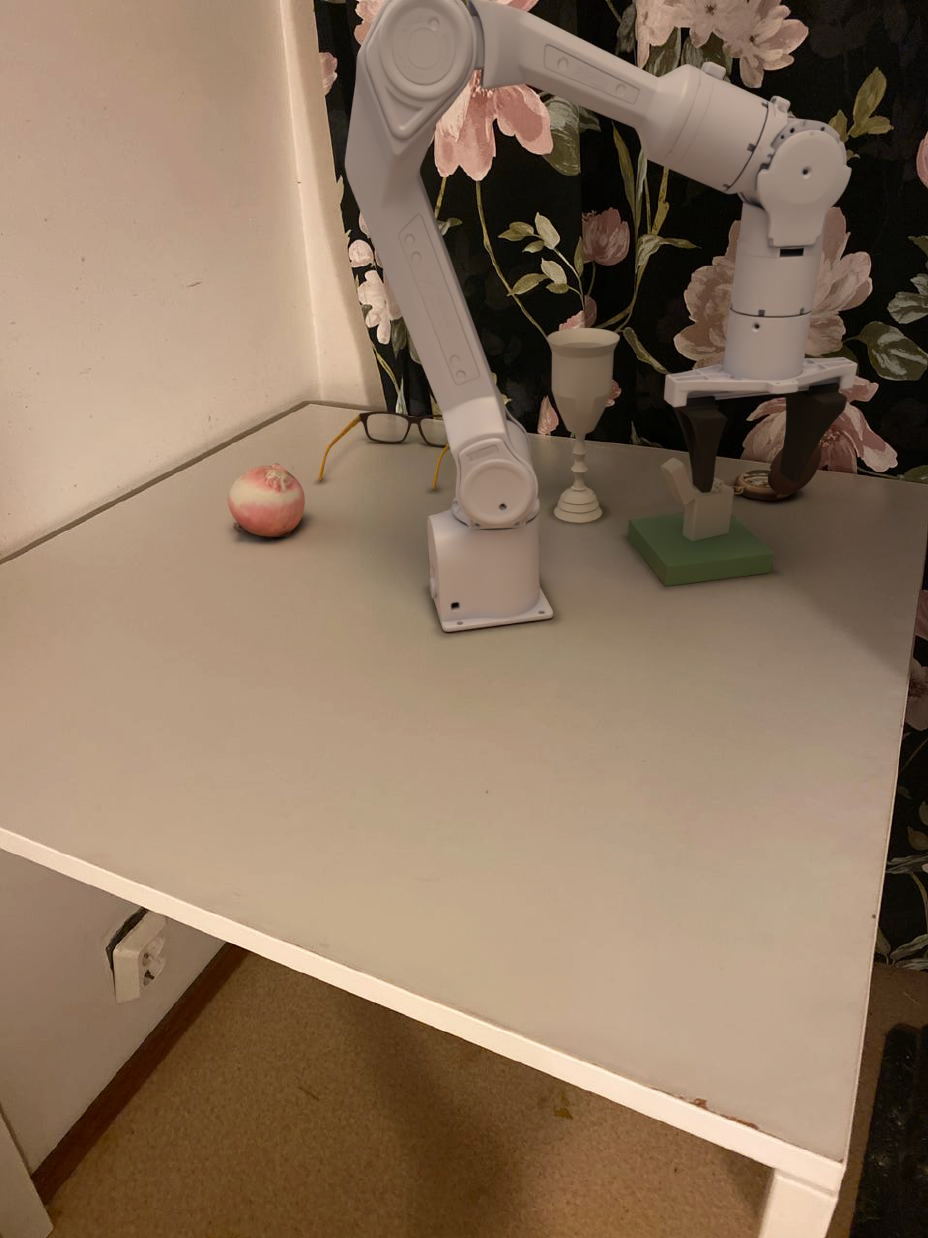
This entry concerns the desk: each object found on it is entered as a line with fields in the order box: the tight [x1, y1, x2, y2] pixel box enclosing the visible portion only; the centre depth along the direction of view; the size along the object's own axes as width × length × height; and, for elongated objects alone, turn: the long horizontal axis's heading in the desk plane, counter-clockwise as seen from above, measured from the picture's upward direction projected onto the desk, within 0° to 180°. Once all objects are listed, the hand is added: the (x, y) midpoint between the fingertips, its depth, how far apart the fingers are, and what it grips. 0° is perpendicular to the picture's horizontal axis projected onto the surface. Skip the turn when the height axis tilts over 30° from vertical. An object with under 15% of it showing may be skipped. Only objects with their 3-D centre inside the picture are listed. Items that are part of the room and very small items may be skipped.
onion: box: [227, 462, 306, 538], centre depth 88 cm, size 8×8×7 cm
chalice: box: [546, 327, 621, 524], centre depth 86 cm, size 7×7×18 cm
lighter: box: [660, 456, 735, 541], centre depth 79 cm, size 7×2×8 cm, turn 111°
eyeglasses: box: [318, 410, 450, 491], centre depth 104 cm, size 14×14×4 cm
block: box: [627, 512, 774, 587], centre depth 81 cm, size 10×10×2 cm
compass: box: [730, 444, 822, 501], centre depth 91 cm, size 8×8×7 cm
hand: (746, 482), depth 70 cm, fingers open, 7 cm apart
